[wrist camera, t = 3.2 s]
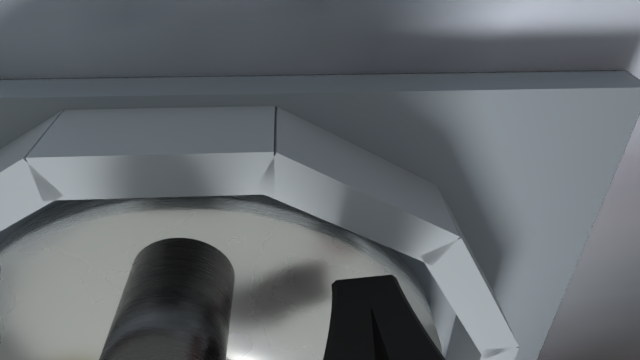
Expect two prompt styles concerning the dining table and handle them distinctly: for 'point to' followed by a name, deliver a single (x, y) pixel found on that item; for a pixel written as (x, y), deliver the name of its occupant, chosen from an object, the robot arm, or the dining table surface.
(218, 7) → the dining table surface
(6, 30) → the dining table surface
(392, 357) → the robot arm
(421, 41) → the dining table surface
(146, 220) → the dial
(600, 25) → the dining table surface
